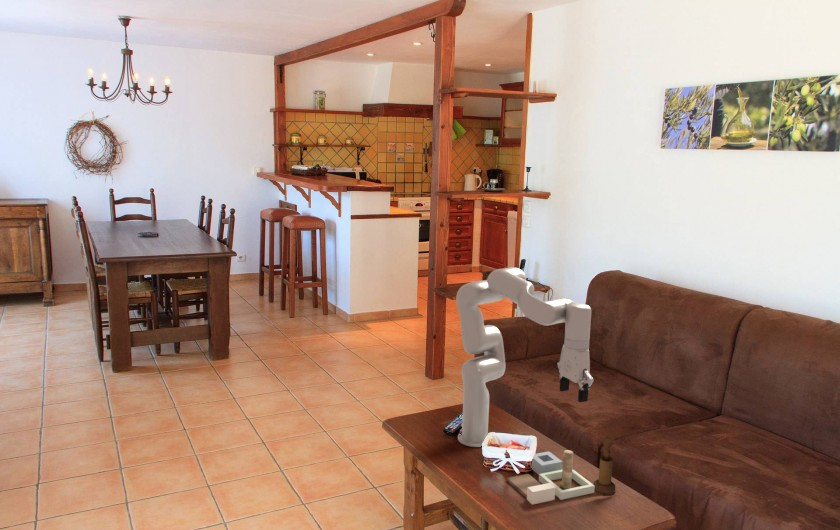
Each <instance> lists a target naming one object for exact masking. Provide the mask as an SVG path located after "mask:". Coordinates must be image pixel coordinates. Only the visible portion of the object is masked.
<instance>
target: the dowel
mask: <svg viewBox="0 0 840 530" xmlns="http://www.w3.org/2000/svg"><path fill="white" fill-rule="evenodd" d="M562 456H563V457H562V462H563V464H562V478H561V484H560V485H561V486H560V487H561V489H563V490H566V489H570V488H572V480H573V479H572V469H573V463H574V451H572V450H569V449H566V450H563V455H562Z"/></svg>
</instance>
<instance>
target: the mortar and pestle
mask: <svg viewBox="0 0 840 530" xmlns="http://www.w3.org/2000/svg"><path fill="white" fill-rule="evenodd" d="M602 444H603V446H604V449H603V455H601V456H600V457H599V467H598V468H599V469H598V479H596V480H595V481H593V485H594V486H595V489H594V491H597V492H598V493H601V496H602V497H611V496H614V495H615V494H616V493H615V492H616V484H615V483H614V482H613V481H612V475H613V474H612V473H613V465H614V459H613V457H612V456H611V453H612V451H611V450H610V449H611V448H612V446H613V444H614V442H613V439H612V438H611V437H610V436H605V437H603V439H602Z"/></svg>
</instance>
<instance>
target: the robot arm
mask: <svg viewBox="0 0 840 530" xmlns="http://www.w3.org/2000/svg"><path fill="white" fill-rule="evenodd" d="M534 294H535V285H534V284H533V283H532V282H531V281H529V280H527V276H526V274H525V272H524V271H523V270H522V269H520V268H519V267H514V266H512V267H504V268H497V269H495V270H492V271H491V272H490V273H489V275H488V276H487V279H484V280H476V281H470V282H468V283H465V284H463V285H462V286H460V287H459V289H458V291H457V292H456V296H455V303H456V307H457V312H458V315H459V323H460V331H461V341H462V346H463V350H464V352H466V354H468V355H479V354H483V353H484V355H480V356H476V357H472V358H470V359H468V360H466V361H465V362H464V363H463V364H462V367H461V379H462V385H463V386H462V387H463V388H462V389H463V394H462V395H463V396H462V399H463V400H462V422H461V423H460V427H462V429H461V432H462V435H461V434H460V433H458V435H457V441H458V442H459V443H460V444H462V445H463V446H467V447H471V448H482V447H481V445H482V442H483V440H484V439H485V437H486V436H487V434H489V413H490V393H489V389H488V388H487V386H486V383H488V382H491V381H495V380H497V379H500V378H502V377H503V376H504V374H505V372H506V356H505V348H504V347H505V346H504V339H503V336H502V332H501V331H500V330H499V328H498V327H497V326H496V325H493V324H486V325H485V323H484V321H485V319H484V316H483V313H482V310H481V309H480V308H479V307H478V306H480V305H486V304H491V303H497V302H499V301H500V302H501V301H502V300H504V299H507V300H509V301H510V302H513V303H514V304H517V307H518V309H519V310H520V312H521V313H522V315H523V316H524V317H525V318H527V319H529V320H531V321H532V322H535V323H537V324H539V325H542V326H547V327H549V326H553V325H557V324H562V323H565V327H564V328H565V329H564V341H563V342H564V343H563V345H562V348H561V352H560V357H559V361H558V362H557V363H556V364H557V368H558V369H557V371H558V374H559V376H558V377H559V391H560V392H567V391H569V390H570V381H571V382H573V383H574V384H575V383H577V384H578V386H579V389H578V392H577V393H578V396H577V397H578V398H577V402H579V403H584V402H587V401H588V400H589V399H588V398H589V390H590V389H591V387H592V386H593V383H594V380H595V379H594V377H593V376H592V375H591V374H590V369H591V367H590V366H591V365H590V364H591V359H590V350H589V349H590V339H591V321H592V308H591V306H590V305H588V304H586V303H581V302H579V303H578V302H576V301H573V300H571V299H568V298H565V297H564V298H555V299H551V300H546V301H544V300H541V299H539V298H537V297H535V296H534ZM583 383H584V384H583Z"/></svg>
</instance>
